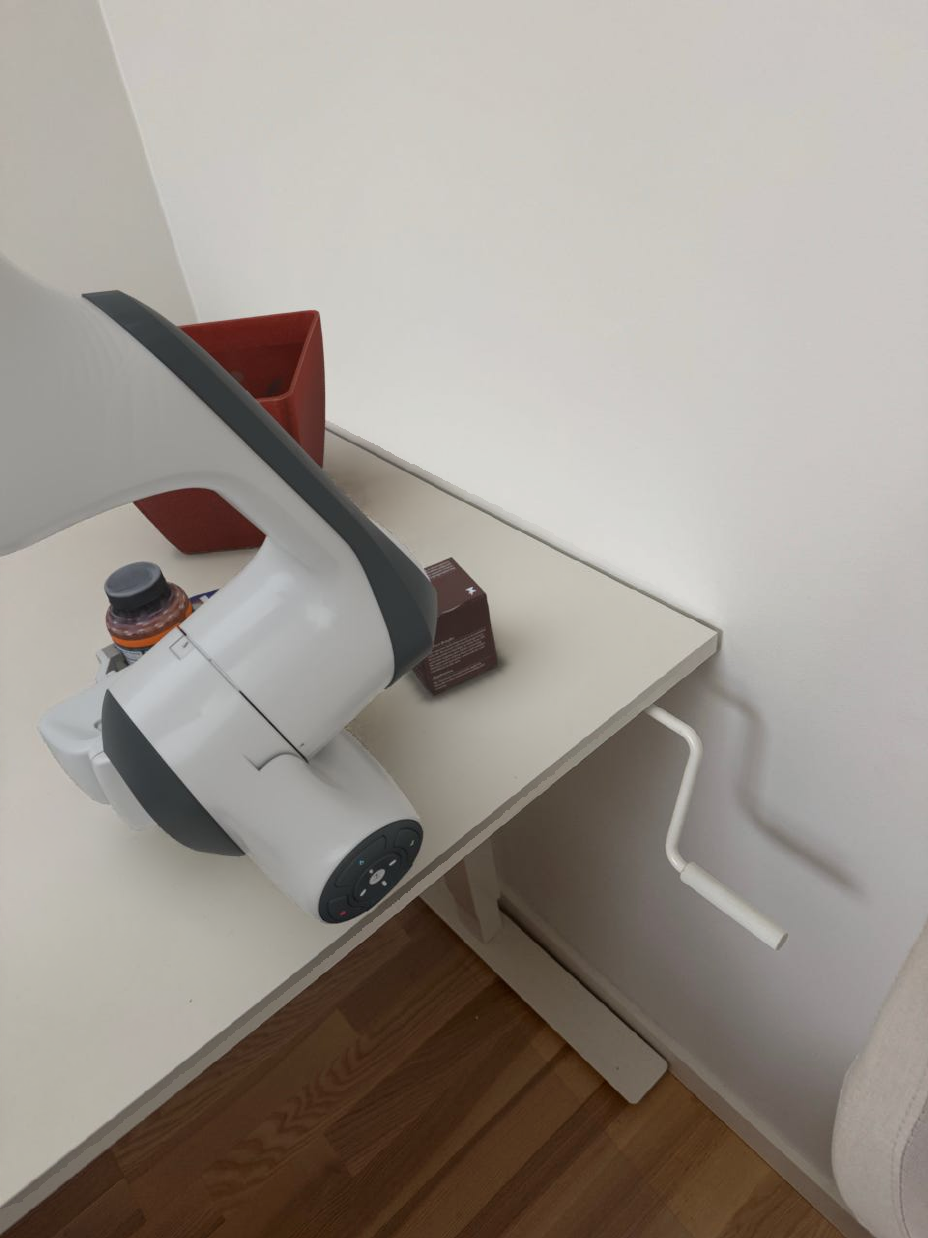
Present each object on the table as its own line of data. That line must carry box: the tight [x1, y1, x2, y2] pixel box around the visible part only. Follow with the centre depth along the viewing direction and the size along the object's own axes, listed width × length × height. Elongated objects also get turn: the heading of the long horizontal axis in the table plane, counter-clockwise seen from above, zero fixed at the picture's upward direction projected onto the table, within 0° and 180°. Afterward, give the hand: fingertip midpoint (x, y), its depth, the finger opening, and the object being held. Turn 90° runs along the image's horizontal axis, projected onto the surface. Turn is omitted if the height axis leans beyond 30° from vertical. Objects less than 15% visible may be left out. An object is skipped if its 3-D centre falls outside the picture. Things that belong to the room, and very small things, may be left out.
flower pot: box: [132, 309, 326, 554], centre depth 92 cm, size 19×19×17 cm
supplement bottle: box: [103, 561, 194, 666], centre depth 69 cm, size 6×6×11 cm
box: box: [411, 556, 499, 696], centre depth 73 cm, size 6×6×7 cm
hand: (153, 630), depth 70 cm, fingers closed on supplement bottle, 6 cm apart
